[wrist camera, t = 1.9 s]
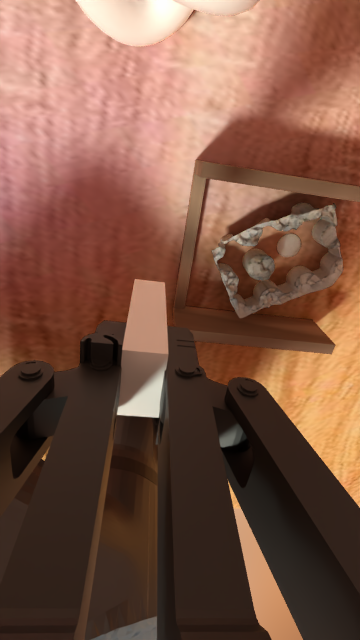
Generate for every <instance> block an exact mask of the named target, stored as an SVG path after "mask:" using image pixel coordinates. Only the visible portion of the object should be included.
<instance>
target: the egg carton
mask: <svg viewBox="0 0 360 640" xmlns="http://www.w3.org/2000/svg"><path fill="white" fill-rule="evenodd" d="M335 209H336V205H335V204H334V203H333V205H329V206H328V205H327V206H325V207H324V208H322V209H319V208H317V209H314V208H313V207H312V206H311V205H310V204H308V203H299V204H296V205H294V206H293V207H292V211H291V214H290V215H288V216H286V217H283V218H281V219H279V220H275V221H271V220H269V219H268V218H265V219H263V220H262V221H260V222H259V223H257V224H256V226H253V227H251V228H249V229H247V230H245V231H243V232H241V233H240V234H238V235H235V236H233V235H232V234H228V235H226V236H224V237H222V238H221V242H220V243H219V247H217V248H216V249H215V250H212V253H213V257H214V261H215V264H216V266H217V268H218V270H219V271H220V273H221V278H222V281H223V283H224V285H225V287H226V290H227V293H228V295H229V297H230V302H231V304H232V306H233V308H234V310H235V311H236V313H237V315H238V316H239V318H243V317H246V316H248V315H250V314H252V313H255V312H257V311H258V310H260V309H262V308H269V307H270V306H271V305H281V304H283V303H285V302H287V301H289V300H292V299H295V298H298V297H300V296H302V295H305V294H308V293H312V292H315V291H319V290H323V289H326V288H328V287H330V286H332V285H333V284H334V283H335V282H336V280H337V279H338V278H339V276H340V275H341V273H342V272H343V259H342V257H341V252H340V242H339V240H338V238H337V234H336V228H335V226H337V217H336V213H335ZM320 217H321V219H320V220H319V221H317V222H316V223H315V225H314V226H313V229H312V237H313V239H314V240H315V241H316V242H318V243H319V244H321V245H323V246H324V247H327V248H328V253H326V254H325V255H324V256H323V257H322V259H321V261H320V268H319V269H317V270H315V271H310V270H309V269H308V268H306V267H305V266H295V267H293V268H292V269H291V270H290V271H289V272H288V274H287V276H286V282H285V283H283V284H281V285H278V286H276V285H275V284H274V283H273V282H272V281H270V280H268V279H269V278H270V276H271V275H272V273H273V272H274V270H275V264H274V260H273V259H272V258H271V257H270V256H268V255H267V254H266V253H265V252H264V251H262V250H260V249H251V250H249V251H248V252H246V253H245V255H244V256H243V259H242V264H243V267H244V268H245V270H246V271H247V272H248V274H249V276H251V277H252V278H254V279H256V280H261V281H260V282H258V283H257V284H256V285H255V287H254V289H253V296H252V297H249V298H247V299H243V298H242V297H241V296H240V295H239V294H236V293H237V285H238V283H239V278H238V276H237V275H236V274H235V273H234V271H233V269H232V268H231V267H230V266H229V265H227V264H225V263H220V264H217V261H218V260H219V259H220V258H222V257H223V256H224V254H225V250H226V249H225V244H226V243H228V242H229V241H232V240H235V241H236V242H238V243H239V244H241V245H242V246H256V245H257V244H258V241H259V238H260V236H261V234H262V228H263V227H265V226H272V227H273V228H275V229H277V230H279V231H282V230H283V231H289V230H291V229H295V230H296V229H297V228H298V227H299V226H300V225H302V223H303V222H305V221H310V220H314V219H317V218H320ZM300 247H301V240H300V238H299V237H298V236H297V235H296V234H292V233H290V234H286V235H284V236H283V237H281V238H280V240H279V241H278V243H277V251H278V253H279V254H280V255H281V256H282V257H293V256H294V255H296V254H297V253H298V252H299V250H300Z"/></svg>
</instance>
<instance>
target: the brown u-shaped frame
mask: <svg viewBox="0 0 360 640" xmlns="http://www.w3.org/2000/svg"><path fill="white" fill-rule="evenodd" d="M206 178H208V179H214V180H221V181H227V182H233V183H240V184H246V185H253V186H259V187H265V188H272V189H278V190H285V191H291V192H297V193H304V194H310V195H317V196H323V197H329V198H336V199H342V200H348V201H355V202H360V186H354V185H348V184H342V183H336V182H330V181H323V180H317V179H311V178H305V177H299V176H293V175H287V174H280V173H274V172H268V171H262V170H256V169H250V168H243V167H237V166H231V165H225V164H219V163H213V162H207V161H200V160H195V167H194V174H193V180H192V187H191V194H190V200H189V207H188V213H187V220H186V227H185V233H184V240H183V247H182V253H181V260H180V266H179V273H178V280H177V286H176V293H175V300H174V306H173V313H172V316H173V326H174V327H182V328H188V329H189V330H190V332H191V333H192V334H193V336H194V341H200V342H210V343H220V344H231V345H241V346H251V347H262V348H272V349H282V350H293V351H303V352H314V353H324V354H332V352H333V350H334V347H335V344H334V343H333V342H332V341H331V340H330V338H329V337H328V336H327V335H326V334H325V333H324V332H323V331H322V330H321V329H320V328H319V326H318V325H317V324H316V323H315V322H314V321H313V320H309V319H299V318H290V317H281V316H272V315H263V314H253V313H252V314H250V315H248V316H246V317H243V318H239V316H238V315H237V313H236V312H235V311H226V310H217V309H208V308H198V307H189V306H185V302H186V296H187V290H188V284H189V278H190V273H191V267H192V261H193V255H194V249H195V243H196V237H197V231H198V225H199V219H200V213H201V207H202V201H203V195H204V189H205V183H206Z"/></svg>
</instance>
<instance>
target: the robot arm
mask: <svg viewBox="0 0 360 640" xmlns="http://www.w3.org/2000/svg"><path fill="white" fill-rule="evenodd" d="M45 453H46V459H45V461H44V460H42V459H41V458H42V457H43V455H44V454H45ZM227 479H228V480H227ZM228 481H229V483H230V485H231V488H232V490H233V492H234V494H235V496H236V498H237V500H238V502H239V504H240V507H241V509H242V511H243V513H244V515H245V517H246V519H247V521H248V524H249V526H250V528H251V529H252V532H253V534H254V536H255V538H256V540H257V542H258V545H259V547H260V549H261V551H262V553H263V555H264V557H265V560H266V562H267V564H268V566H269V568H270V570H271V572H272V574H273V577H274V579H275V581H276V583H277V585H278V587H279V589H280V591H281V594H282V596H283V598H284V600H285V602H286V604H287V606H288V608H289V610H290V613H291V615H292V617H293V619H294V621H295V623H296V625H297V627H298V630H299V632H300V634H301V636H302V638H303V640H360V508H359V506H358V505H357V504H356V503H355V501H354V500H353V499H352V497H351V496H350V495H349V494H348V492H347V491H346V490H345V489H344V487H343V486H342V485H341V484H340V482H339V481H338V480H337V478H336V477H335V476H334V475H333V473H332V472H331V471H330V470H329V468H328V467H327V466H326V464H325V463H324V462H323V461H322V459H321V458H320V457H319V456H318V454H317V453H316V452H315V451H314V449H313V448H312V447H311V445H310V444H309V443H308V442H307V440H306V439H305V438H304V437H303V435H302V434H301V433H300V431H299V430H298V429H297V428H296V426H295V425H294V424H293V423H292V421H291V420H290V419H289V418H288V416H287V415H286V414H285V412H284V411H283V410H282V409H281V407H280V406H279V405H278V404H277V402H276V401H275V400H274V398H273V397H272V396H271V395H270V393H269V392H268V391H267V390H266V388H265V387H264V386H262V385H261V384H260V383H259V382H257V381H255V380H253V379H249V378H244V377H238V378H233V379H232V380H230V381H229V383H228V386H227V385H224V384H220V383H217V382H214V381H212V380H210V379H208V378H207V377H206V373H205V371H204V369H203V368H201V367H200V366H199V363H198V358H197V352H196V348H195V343H194V336H193V334H192V333H191V332H190V330H189V329H188V328H182V327H172V326H167V314H166V294H165V282H157V281H148V280H140V279H135V280H134V286H133V291H132V297H131V303H130V308H129V314H128V319H127V323H124V322H114V321H105V320H104V321H103V322H102V323H100V324H99V325H98V326H97V328H96V331H95V333H94V334H89V335H87V336H85V337H83V339H82V340H81V341H80V364H79V366H78V367H77V368H74V369H71V370H66V371H59V372H54V369H53V367H52V366H51V365H50V364H48V363H46V362H43V361H35V360H33V361H25V362H22V363H19V364H16V365H15V366H13V367H11V368H10V369H9V370H8V371H7V372H6V373H4V374H3V375H2V376H1V377H0V640H271V638H270V635H269V633H268V632H267V631H266V630H265V629H264V628H263V627H261V626H260V625H259V623H258V620H257V618H256V614H255V611H254V607H253V602H252V597H251V592H250V587H249V582H248V577H247V572H246V568H245V563H244V558H243V553H242V548H241V543H240V539H239V534H238V529H237V524H236V519H235V514H234V509H233V504H232V499H231V495H230V490H229V485H228Z"/></svg>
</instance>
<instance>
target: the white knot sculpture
mask: <svg viewBox="0 0 360 640" xmlns="http://www.w3.org/2000/svg"><path fill="white" fill-rule="evenodd" d="M258 1H259V0H76V2H77V3H78V4H79V6H80V7H81V9H82V10H83V12H84V13H85V15H86V16H87V17H88V18H89V19H90V20H91V21H92V22H93V23H94V24H95V25H96V26H97V27H98V28H99V29H100V30H102V31H103V32H104V33H106V34H107V35H109V36H110V37H112V38H113V39H115V40H116V41H118V42H120V43H123V44H126V45H129V46H138V47H143V46H149V45H154V44H156V43H159V42H161V41H163V40H165V39H167V38H168V37H170V36H172V35H173V34H174V33H175V32H176V31H178V30H179V29H180V28H181V27H182V25H183V24H184V23H185V22H186V21H187V19H188V18H189V16H190V15H191V13H192V12H193V10H197V11H200V12H204V13H207V14H212V15H217V16H233V15H237V14H240V13H243V12H245V11H248V10H250V9H252V8H253V7H254V6H255V5H256V4H257V3H258Z"/></svg>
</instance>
